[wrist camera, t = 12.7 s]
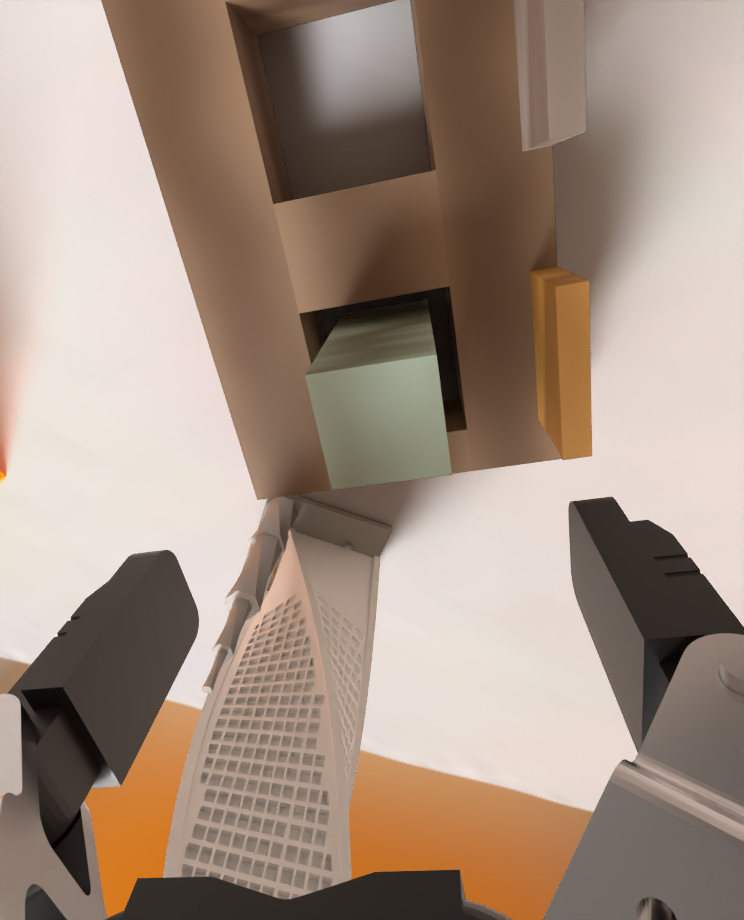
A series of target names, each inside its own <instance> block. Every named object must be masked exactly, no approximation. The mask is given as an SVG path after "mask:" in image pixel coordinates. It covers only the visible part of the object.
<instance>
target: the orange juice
mask: <svg viewBox="0 0 744 920" xmlns="http://www.w3.org/2000/svg"><path fill="white" fill-rule="evenodd" d="M5 477H6V475H5V474H3V473H2V472H1V471H0V483H1V482H2V481H3V480H4V478H5Z"/></svg>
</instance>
